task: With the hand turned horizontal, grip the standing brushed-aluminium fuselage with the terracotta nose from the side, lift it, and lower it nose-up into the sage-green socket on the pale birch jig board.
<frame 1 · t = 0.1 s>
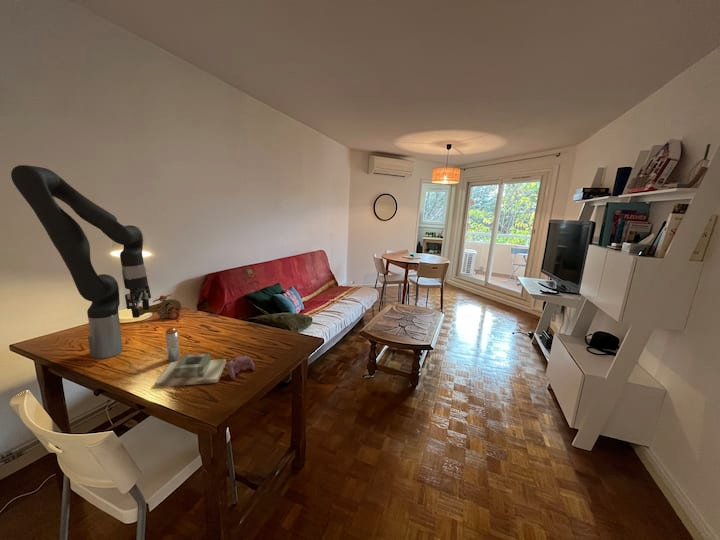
hand: (141, 313, 118), 17 cm above the table, tool pointing down, fingers open, 8 cm apart
fuselage: (173, 359, 117), on the table
video game controller: (240, 372, 111), on the table
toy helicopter: (161, 318, 155), on the table
jig: (193, 373, 108), on the table
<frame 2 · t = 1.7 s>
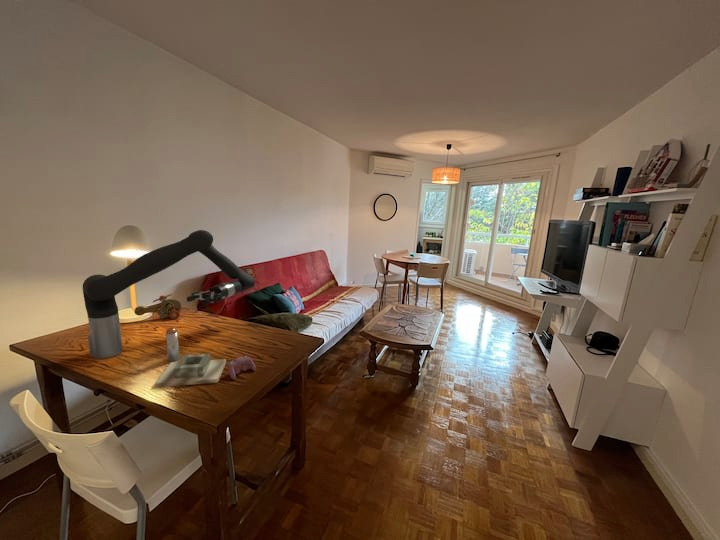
hand: (195, 301, 124), 22 cm above the table, tool horizontal, fingers open, 8 cm apart
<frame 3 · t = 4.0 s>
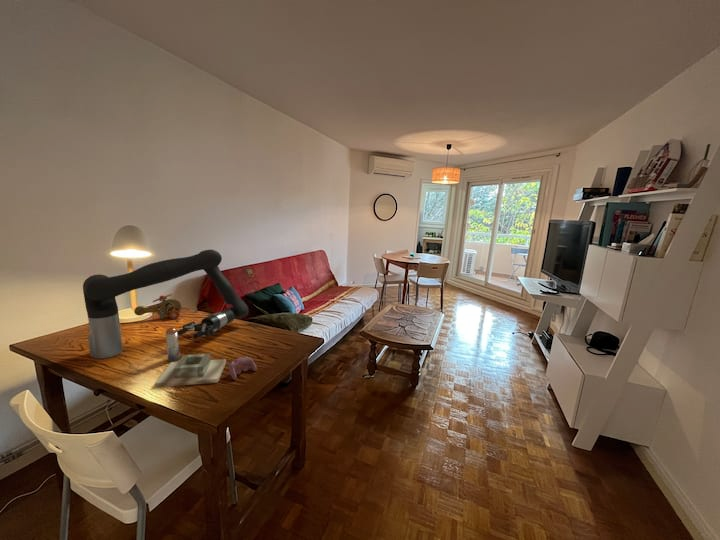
hand: (185, 335, 121), 8 cm above the table, tool horizontal, fingers open, 8 cm apart
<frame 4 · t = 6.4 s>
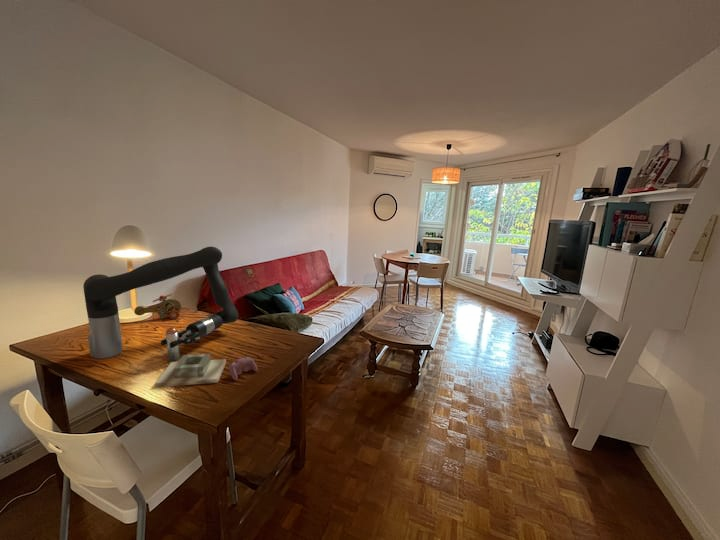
hand: (166, 344, 113), 8 cm above the table, tool horizontal, fingers closed on fuselage, 4 cm apart
fuselage: (173, 359, 117), on the table, touching gripper
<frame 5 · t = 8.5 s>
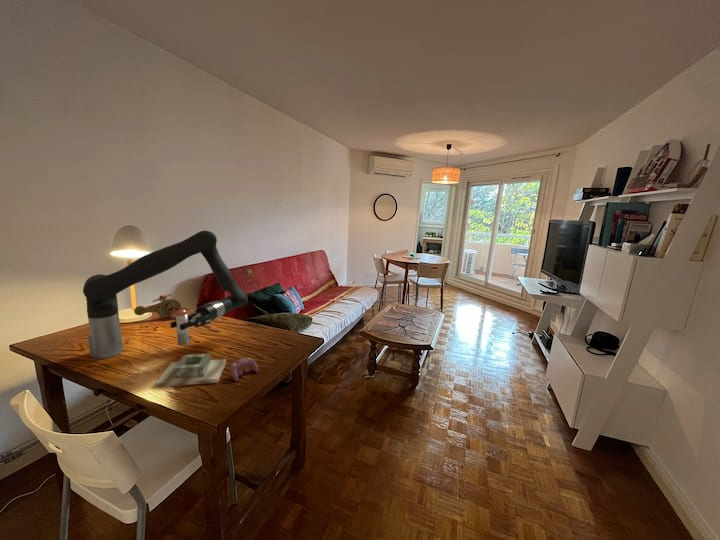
hand: (176, 326, 107), 18 cm above the table, tool horizontal, fingers closed on fuselage, 4 cm apart
fuselage: (183, 342, 111), point 10 cm above the table, touching gripper
when the fingers open (11 cm above the table, at t = 11.0 s): fuselage drops 2 cm, resting on jig.
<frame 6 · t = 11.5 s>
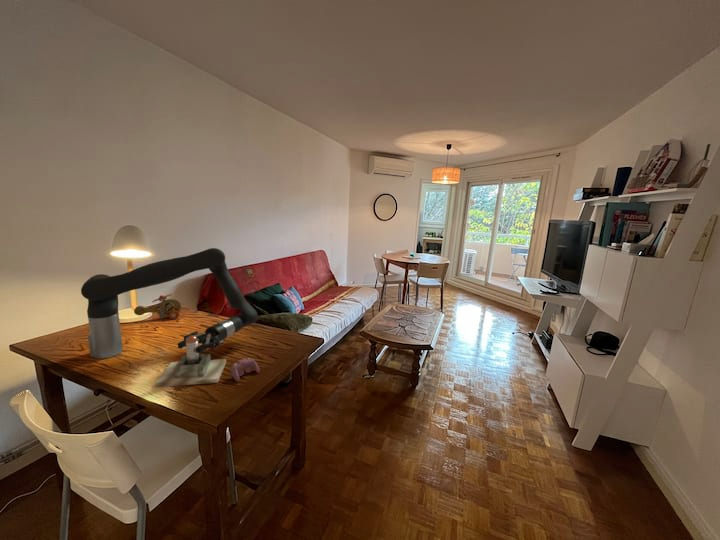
hand: (187, 348, 104), 12 cm above the table, tool horizontal, fingers open, 8 cm apart
fuselage: (193, 369, 108), point 2 cm above the table, touching jig
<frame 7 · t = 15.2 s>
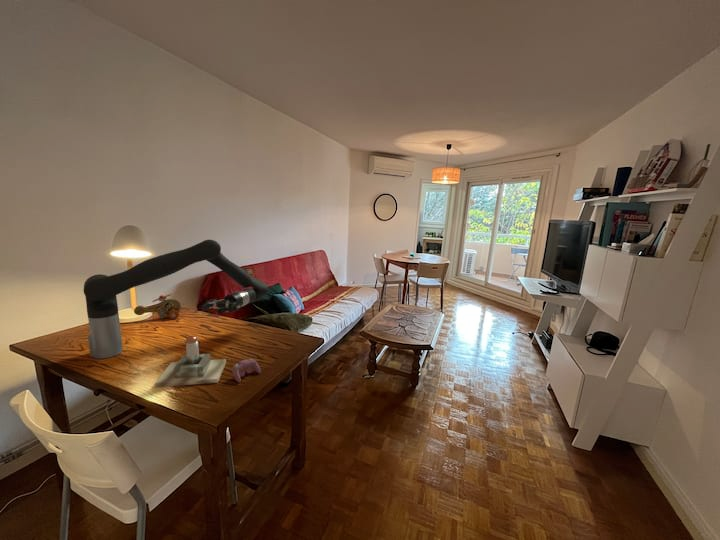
hand: (209, 310, 118), 21 cm above the table, tool horizontal, fingers open, 8 cm apart
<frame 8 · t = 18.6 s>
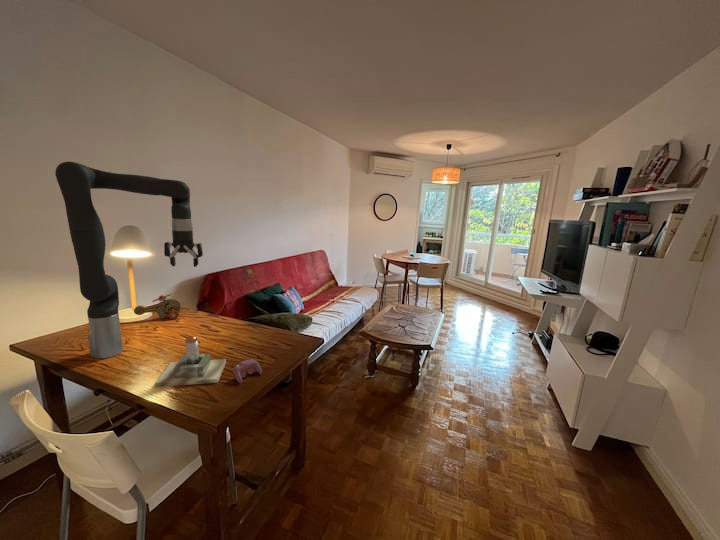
hand: (184, 266, 125), 36 cm above the table, tool pointing down, fingers open, 8 cm apart
at the end: fuselage 0.1 cm off-centre on the jig, point 1.5 cm above the jig's base; fuselage tilted 0°; the gripper is holding nothing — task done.
